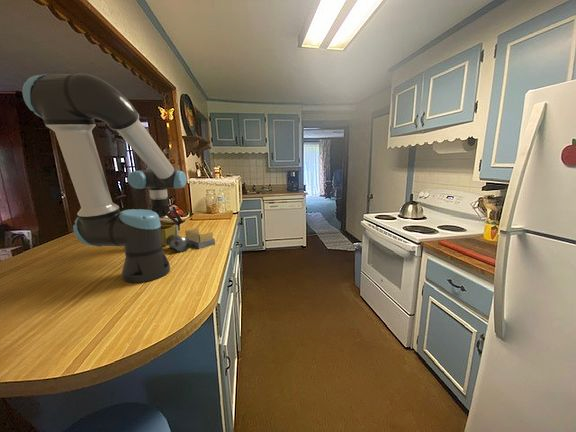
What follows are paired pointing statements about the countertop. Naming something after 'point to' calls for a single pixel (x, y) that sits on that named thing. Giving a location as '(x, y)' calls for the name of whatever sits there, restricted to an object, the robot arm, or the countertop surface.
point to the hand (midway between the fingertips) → (163, 239)
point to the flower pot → (166, 233)
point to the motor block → (190, 240)
